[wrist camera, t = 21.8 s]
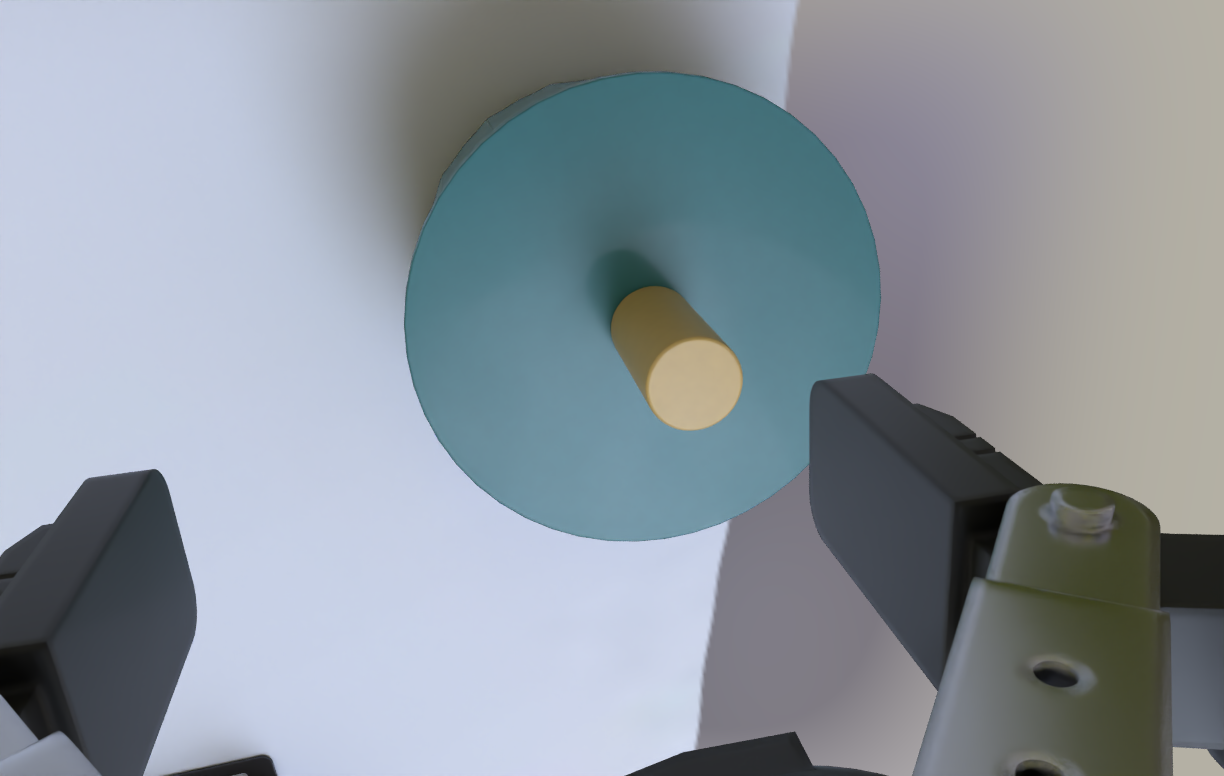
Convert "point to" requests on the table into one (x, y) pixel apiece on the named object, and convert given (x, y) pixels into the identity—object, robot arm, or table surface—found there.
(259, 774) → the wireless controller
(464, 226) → the lid
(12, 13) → the table surface
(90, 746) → the robot arm
